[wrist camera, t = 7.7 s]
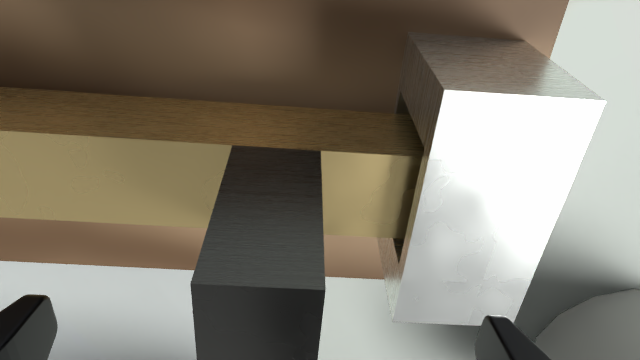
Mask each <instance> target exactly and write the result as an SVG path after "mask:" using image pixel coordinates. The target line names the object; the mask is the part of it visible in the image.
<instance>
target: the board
mask: <svg viewBox="0 0 640 360" xmlns="http://www.w3.org/2000/svg"><path fill="white" fill-rule="evenodd" d="M568 2H569V0H0V87H8V88H23V89H38V90H52V91H67V92H82V93H97V94H112V95H127V96H142V97H157V98H171V99H186V100H201V101H216V102H231V103H246V104H261V105H276V106H290V107H305V108H320V109H335V110H350V111H365V112H380V113H394V109H395V104H396V98H397V92H398V86H399V80H400V75H401V69H402V63H403V57H404V51H405V46H406V40H407V34H408V32H416V33H429V34H442V35H455V36H468V37H481V38H494V39H507V40H520V41H526V42H528V43H529V44H530V45H532V46H533V47H534V48H536V49H537V50H538V51H540V52H541V53H542V54H544V55H545V56H546V57H548V58H549V59H550V56H551V53H552V50H553V47H554V44H555V41H556V38H557V35H558V32H559V29H560V26H561V23H562V20H563V17H564V14H565V11H566V8H567V5H568ZM206 231H207V228H191V227H172V226H154V225H135V224H116V223H98V222H79V221H60V220H41V219H23V218H4V217H0V261H17V262H37V263H58V264H79V265H99V266H120V267H140V268H161V269H181V270H195V268H196V264H197V261H198V258H199V254H200V251H201V248H202V244H203V241H204V238H205V234H206ZM324 264H325V277H345V278H366V279H384V274H383V269H382V263H381V258H380V252H379V247H378V241H377V237H360V236H341V235H324Z"/></svg>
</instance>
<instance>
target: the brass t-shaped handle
mask: <svg viewBox="0 0 640 360" xmlns="http://www.w3.org/2000/svg"><path fill="white" fill-rule="evenodd" d="M423 152H424V146H423V144H422V141H421V139H420V137H419V134H418V132H417V129H416V127H415V125H414V122H413V120H412V118H411V115H409V114H395V113H380V112H365V111H350V110H335V109H320V108H305V107H290V106H276V105H261V104H246V103H231V102H216V101H201V100H186V99H171V98H157V97H142V96H127V95H112V94H97V93H82V92H67V91H52V90H38V89H23V88H8V87H0V217H4V218H23V219H41V220H60V221H79V222H98V223H116V224H135V225H154V226H172V227H191V228H207V231H206V234H205V238H204V241H203V244H202V248H201V251H200V254H199V258H198V261H197V264H196V268H195V271H194V274H193V278H192V281H191V294H192V306H193V317H194V329H195V341H196V353H197V360H317V358H318V350H319V341H320V332H321V324H322V315H323V306H324V298H325V264H324V235H341V236H360V237H379V238H397V239H405V235H406V230H407V226H408V221H409V216H410V212H411V207H412V203H413V198H414V193H415V189H416V184H417V180H418V175H419V170H420V166H421V161H422V156H423Z"/></svg>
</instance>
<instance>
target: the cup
mask: <svg viewBox="0 0 640 360" xmlns="http://www.w3.org/2000/svg"><path fill="white" fill-rule="evenodd" d="M535 344H536V345H537V346H538V347H539V348H540V349H541V350H542V351H543V352H544V353H545V354H546V355H547V356H548V357H549V358H550V359H551V360H640V290H637V289H631V290H625V291H620V292H615V293H610V294H605V295H600V296H594V297H592V298H590V299H588V300H586V301H584V302H582V303H580V304H578V305H576V306H574V307H572V308H570V309H568V310H566V311H565V312H563V313H561V314H559V315H558V316H557V317H556V318H555V319H554V320H553V321H552V322H551V323H550V324H549V325H548V326H547V327H546V328H545V329H544V330H543V331H542V332H541V333H540V334H539V335H538V336H537V337H536V341H535Z"/></svg>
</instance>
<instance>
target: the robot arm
mask: <svg viewBox="0 0 640 360" xmlns="http://www.w3.org/2000/svg"><path fill="white" fill-rule="evenodd" d="M56 333H57V320H56V317H55V314H54V310H53V307H52V304H51V301H50V298H49V297H48V296H46V295H25V296H23V297H21V298H20V299H18V300H17V301H15V302H14V303H12V304H11V305H9V306H8V307H7V308H5V309H4V310H2V311H1V312H0V360H47V359H48V356H49V354H50V351H51V348H52V345H53V342H54V339H55V337H56ZM475 353H476V359H477V360H551V359H550V358H549V357H548V356H547V355H546V354H545V353H544V352H543V351H542V350H541V349H540V348H539V347H538V346H537V345H536V344H535V343H534V342H533V341H532V340H531V339H529V338H528V337H527V336H526V335H525V334H524V333H523V332H522V331H521V330H520V329H519V328H518V327H517V326H516V325H515V324H514V323H513V322H512V321H511V320H510V319H508V318H507V317H505V316H502V315H487V316H485V317H484V319H483V321H482V324H481V327H480V330H479V332H478V335H477V338H476V341H475Z"/></svg>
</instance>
